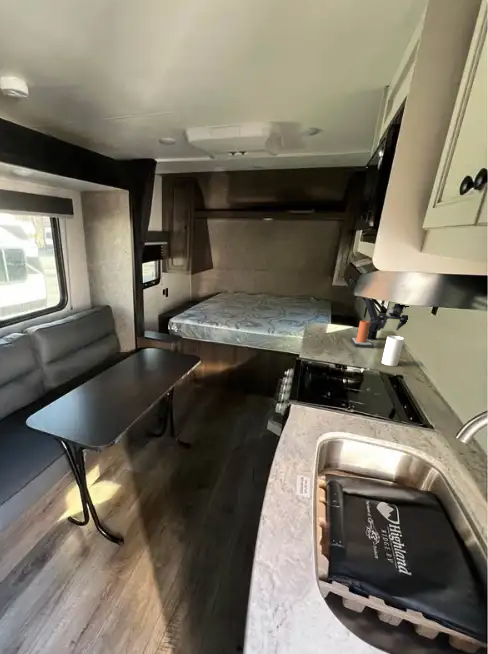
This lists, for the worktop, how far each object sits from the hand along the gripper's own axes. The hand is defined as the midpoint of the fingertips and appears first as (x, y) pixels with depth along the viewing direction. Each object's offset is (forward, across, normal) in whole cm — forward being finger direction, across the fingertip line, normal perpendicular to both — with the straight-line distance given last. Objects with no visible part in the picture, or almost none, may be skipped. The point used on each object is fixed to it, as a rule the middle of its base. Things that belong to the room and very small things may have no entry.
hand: (389, 329), depth 219 cm
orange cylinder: (+12, -13, -3) cm, 18 cm away
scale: (+14, -14, 0) cm, 19 cm away
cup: (+28, +17, -17) cm, 37 cm away
